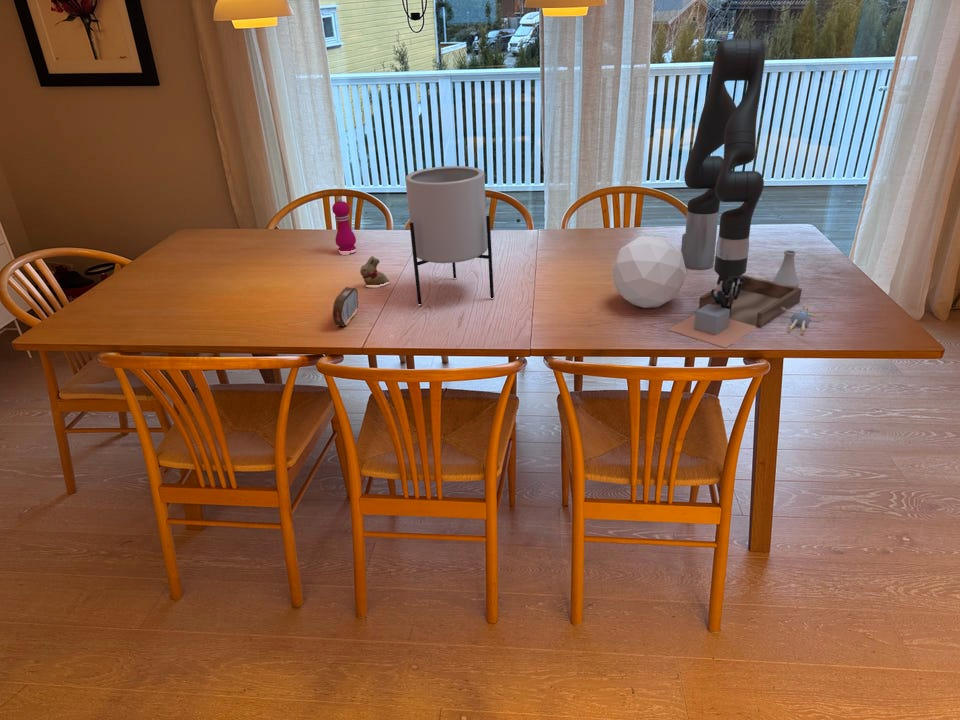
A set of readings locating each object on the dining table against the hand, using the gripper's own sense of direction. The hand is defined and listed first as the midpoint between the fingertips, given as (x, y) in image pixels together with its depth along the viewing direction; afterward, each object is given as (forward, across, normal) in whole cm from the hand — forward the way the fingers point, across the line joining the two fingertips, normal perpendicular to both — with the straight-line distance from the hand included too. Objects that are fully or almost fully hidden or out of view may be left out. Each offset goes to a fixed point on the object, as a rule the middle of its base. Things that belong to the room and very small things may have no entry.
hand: (724, 317), depth 178 cm
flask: (+2, -34, 0) cm, 34 cm away
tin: (+1, +63, -79) cm, 101 cm away
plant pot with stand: (+1, +31, -69) cm, 76 cm away
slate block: (+1, +6, 0) cm, 6 cm away
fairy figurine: (+2, -10, +15) cm, 18 cm away
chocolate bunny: (+1, +42, -95) cm, 104 cm away
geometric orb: (+2, +2, -22) cm, 22 cm away
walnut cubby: (+2, -13, 0) cm, 13 cm away
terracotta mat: (+1, +5, 0) cm, 6 cm away
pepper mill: (+1, +29, -131) cm, 134 cm away
